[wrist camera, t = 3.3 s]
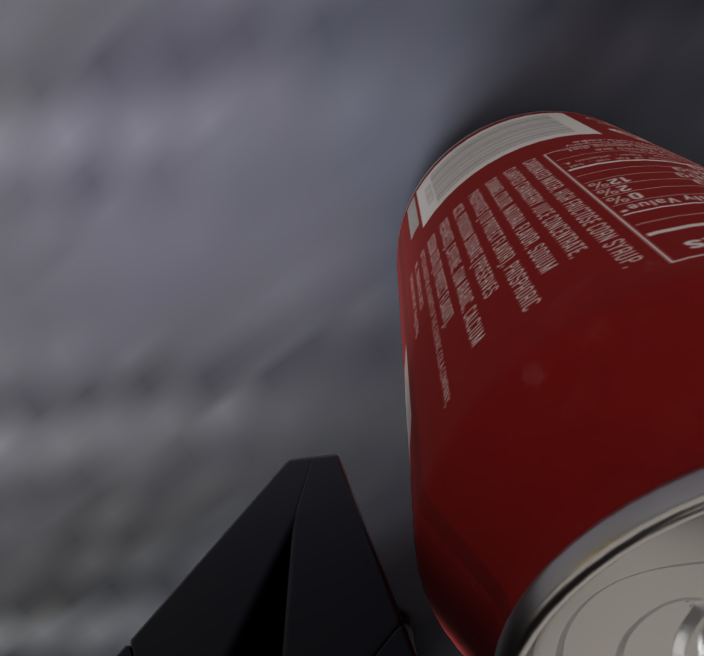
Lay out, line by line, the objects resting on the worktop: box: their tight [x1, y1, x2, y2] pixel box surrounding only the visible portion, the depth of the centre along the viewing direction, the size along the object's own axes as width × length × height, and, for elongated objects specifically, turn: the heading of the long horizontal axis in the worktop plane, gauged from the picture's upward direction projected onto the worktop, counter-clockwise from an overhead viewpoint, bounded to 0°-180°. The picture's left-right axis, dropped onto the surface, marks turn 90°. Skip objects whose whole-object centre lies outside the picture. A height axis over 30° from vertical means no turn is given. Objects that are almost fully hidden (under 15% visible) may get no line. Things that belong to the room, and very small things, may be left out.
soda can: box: [397, 111, 704, 656], centre depth 10 cm, size 7×7×12 cm
